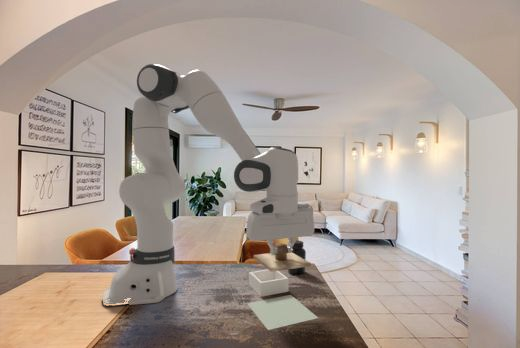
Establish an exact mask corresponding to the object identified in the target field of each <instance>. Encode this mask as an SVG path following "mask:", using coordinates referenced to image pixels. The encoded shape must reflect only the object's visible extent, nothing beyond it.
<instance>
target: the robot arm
mask: <svg viewBox="0 0 520 348" xmlns="http://www.w3.org/2000/svg"><path fill="white" fill-rule="evenodd" d="M136 85H137V89H138V91H139V93H140V94H141V95H142V96H141V97H139V98H137V99H136V100H135V101H134V104H133V109H132V136H133V137H132V138H133V148H134V155H135V157H136V158H137V159H139V161H140V162H141V164H143V167H144V170H145V172H139V173H135V174H134V173H133V174H132V175H129V176H126V177H124V179H123V180H122V181H121V183H120V185H119V191H118V193H119V197H120V198H119V199H120V200H121V201H122V203H123V204H124V205H125V206H127V208H129V210H130V211H131V212H132V215H133V217H134V220H135V224H136V226H135V227H136V234H137V235H136V237H137V238H136V240H137V242H136V245H137V246H136V248H135V247H131V248H130V249H129V253H128V254H129V255H130V257H129V259H130V261H129V262H128V263H127V264H125V265H124V266H123V267H121V268H120V269H119V270H118V271H116V273H115V274H114V275H113V277H112V279H111V282H110V286H109V287H107V288H106V289H105V290H104V292H103V294H102V295H101V300H102V299H103V301H104V300H105V299H107V300H108V299H110V300H108V301H104V303H106V304H116V303H124V302H125V300H124V299H127V298H131V299H130V300H129V301H128V303H129V305H128V306H134V305H143V304H154V303H155V304H156V303H160V302H162V301H163V300H164V299H166V297H169V296H171V295H173V294H174V293H176V292H177V291H178V289H179V285H178V283H177V278H176V273H175V264H174V263H175V260H176V254H175V253H176V249H175V246H174V224H173V221H172V220H171V219H169V218H168V216H167V213H166V210H165V205H168V204H173V203H174V202H176V201H177V200H179V199H181V198H182V197H183V196H184V195H185V193H186V182H185V180H184V178H183V177H182V176H181V175H180V174H179V172H178V170H177V167H176V165H175V162H174V159H173V155H172V151H171V140H170V129H169V115H170V113H173V114H177V113H179V112H182V111H184V110H188V109H190V112H191V113H192V115H193V116H194V118H195V119H196V121H197V122H198V123H199V124H200V126H201V127H202V128H203V129H204V130H205V131H207V132H209V133H210V134H213V136H214V135H215V136H217V137H218V138H220V139H222V140H223V141H225V142H227V143H228V144H229V145H230V147H231V148H232V149H233V150H234V151H235V153H236V154H237V155H238V157H239V159H240V160H241V161H240V162H239V163H238V164H237V165H236V166H235V169H234V172H233V178H234V179H233V180H234V183H235V184H236V187H237V188H238V189H240V190H242V191H244V192H247V193H257V192H266V197H264V198H263V199H260V200H257V201H255V202H252V203H250V206H249V209H250V211H251V212H250V213H249V214H248V217H247V222H246V228H245V229H246V237H247V239H249V240H250V241H251V242H259V241H262V242H263V241H266V244H267V245H268V246H269V249H270V250H269V253H270V254H271V255H277V254H278V253H277V251H278V249H277V248H276V246H274V243H275V240H280V239H281V240H283V239H288V243H287V244H286V245H287V253H292V247H293V245H294V243H295V242H296V240H297V238H303V237H312V236H313V235H314V233H315V221H314V208H313V206H312V205H310V204H308V203H305V204H303V203H301V204H300V203H298V202H299V192H298V189H297V187H298V186H297V185H298V182H299V161H298V156H297V154H296V153H295V152H294V151H293V150H291V149H288V148H285V147H284V148H283V147H279V146H272V147H270V148H269V149H267V150H266V151H264V152H262V153H261V152H260V150H259V149H258V148H257V146H256V145H255V144H254V141H252V139H251V138H250V137H249V135H248V133H247V132H246V131H245V130H244V128H243V126H242V124H241V123H240V121H239V119H238V117H237V115H236V113H235V111H234V110H233V108H232V106H231V105H230V103H229V101H228V100H227V98H226V96H225V95H224V93H223V92H222V90H221V89H220V87H219V86H218V84H217V83H216V82H215V81H214V80H213V79H212V78H211V77H210V75H208V73H206V72H205V71H202V70H199V69H195V70H192V71H190V72H188V73H186V74H185V75H182V74H180V73H179V72H177V71H175V70H173V69H170V68H169V67H168V68H167V67H166V66H164V65H161V64H155V63H154V64H153V63H149V64H146V65H145V66H143V67H142V68H140V70H139V72H138V74H137V78H136ZM109 288H110V290H108V289H109ZM126 302H127V301H126Z"/></svg>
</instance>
